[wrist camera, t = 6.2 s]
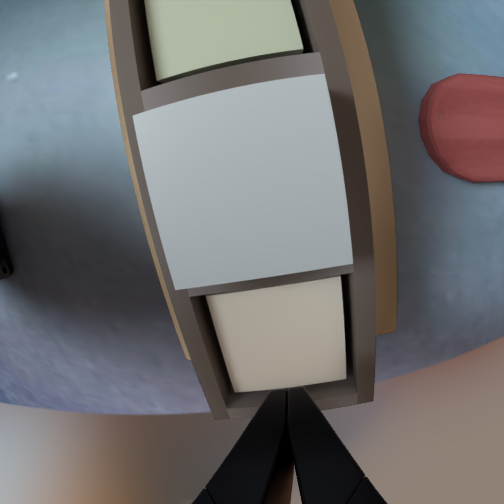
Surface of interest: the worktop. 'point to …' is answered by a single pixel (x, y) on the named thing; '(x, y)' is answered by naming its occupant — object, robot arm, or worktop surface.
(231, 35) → the sage key
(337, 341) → the ivory key
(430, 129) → the popsicle
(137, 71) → the brown long open box
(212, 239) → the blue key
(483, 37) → the worktop surface
